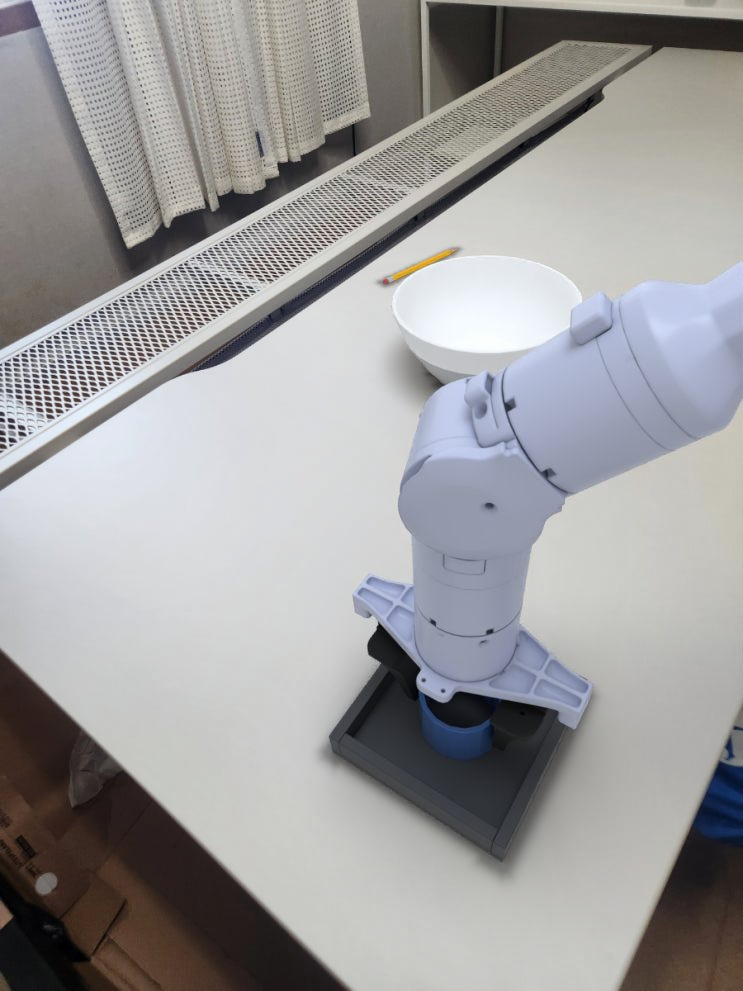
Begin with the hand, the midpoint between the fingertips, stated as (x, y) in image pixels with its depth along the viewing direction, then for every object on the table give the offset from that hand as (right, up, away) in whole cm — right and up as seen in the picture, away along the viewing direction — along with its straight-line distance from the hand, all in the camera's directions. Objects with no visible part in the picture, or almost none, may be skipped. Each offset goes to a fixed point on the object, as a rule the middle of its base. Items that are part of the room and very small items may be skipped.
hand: (460, 711), depth 45 cm
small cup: (0, -1, +1) cm, 2 cm away
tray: (0, -1, +1) cm, 2 cm away
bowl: (+6, +29, +30) cm, 42 cm away
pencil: (+1, +46, +47) cm, 66 cm away
